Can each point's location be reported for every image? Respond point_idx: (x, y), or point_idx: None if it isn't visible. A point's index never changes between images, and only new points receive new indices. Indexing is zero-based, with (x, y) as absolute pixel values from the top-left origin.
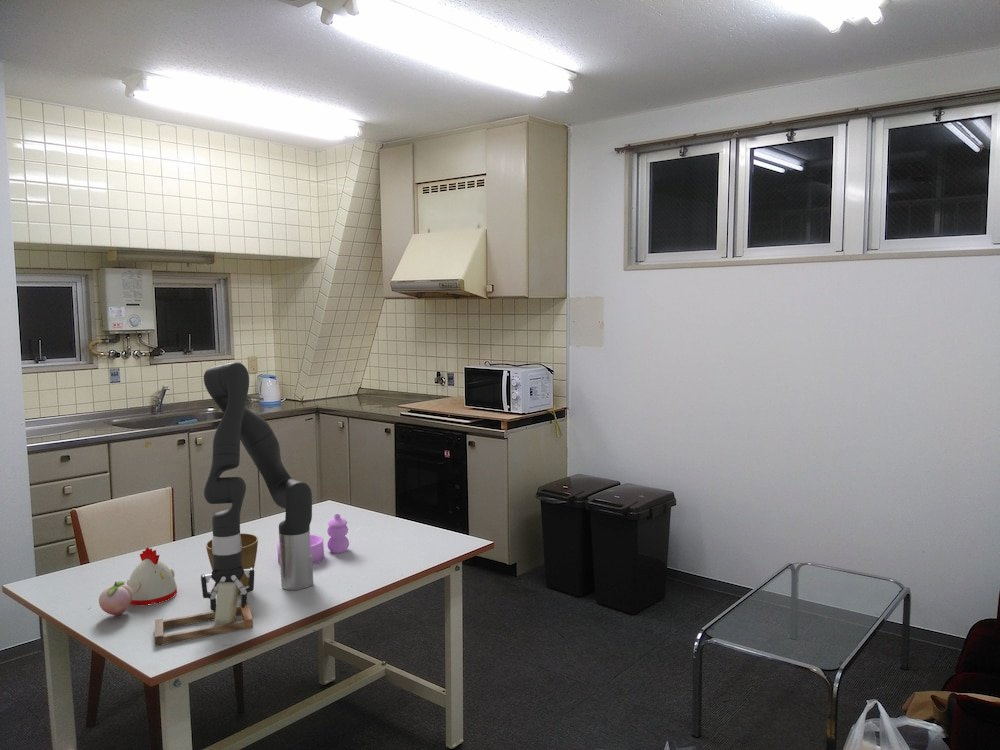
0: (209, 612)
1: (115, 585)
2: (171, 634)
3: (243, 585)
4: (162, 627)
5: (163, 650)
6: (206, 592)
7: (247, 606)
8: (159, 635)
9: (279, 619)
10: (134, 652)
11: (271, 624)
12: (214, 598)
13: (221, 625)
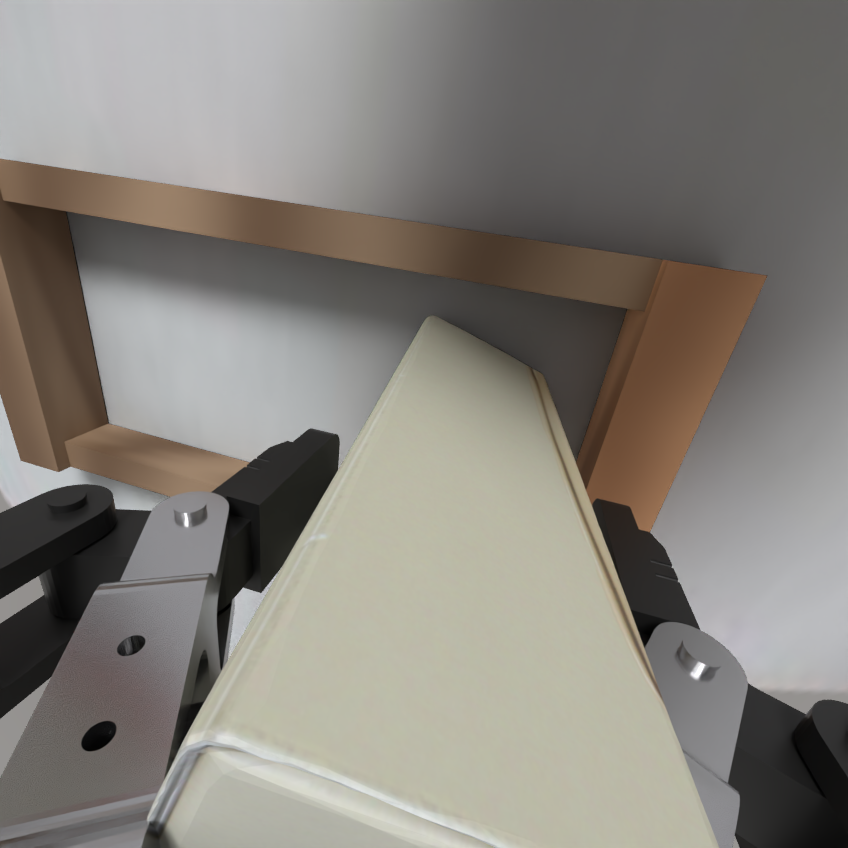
0: (336, 229)
1: None
2: (104, 464)
3: (720, 770)
4: (23, 352)
5: (123, 505)
6: (55, 656)
7: (708, 372)
8: (39, 461)
9: (840, 601)
10: (8, 436)
11: (728, 626)
12: (240, 579)
13: None
